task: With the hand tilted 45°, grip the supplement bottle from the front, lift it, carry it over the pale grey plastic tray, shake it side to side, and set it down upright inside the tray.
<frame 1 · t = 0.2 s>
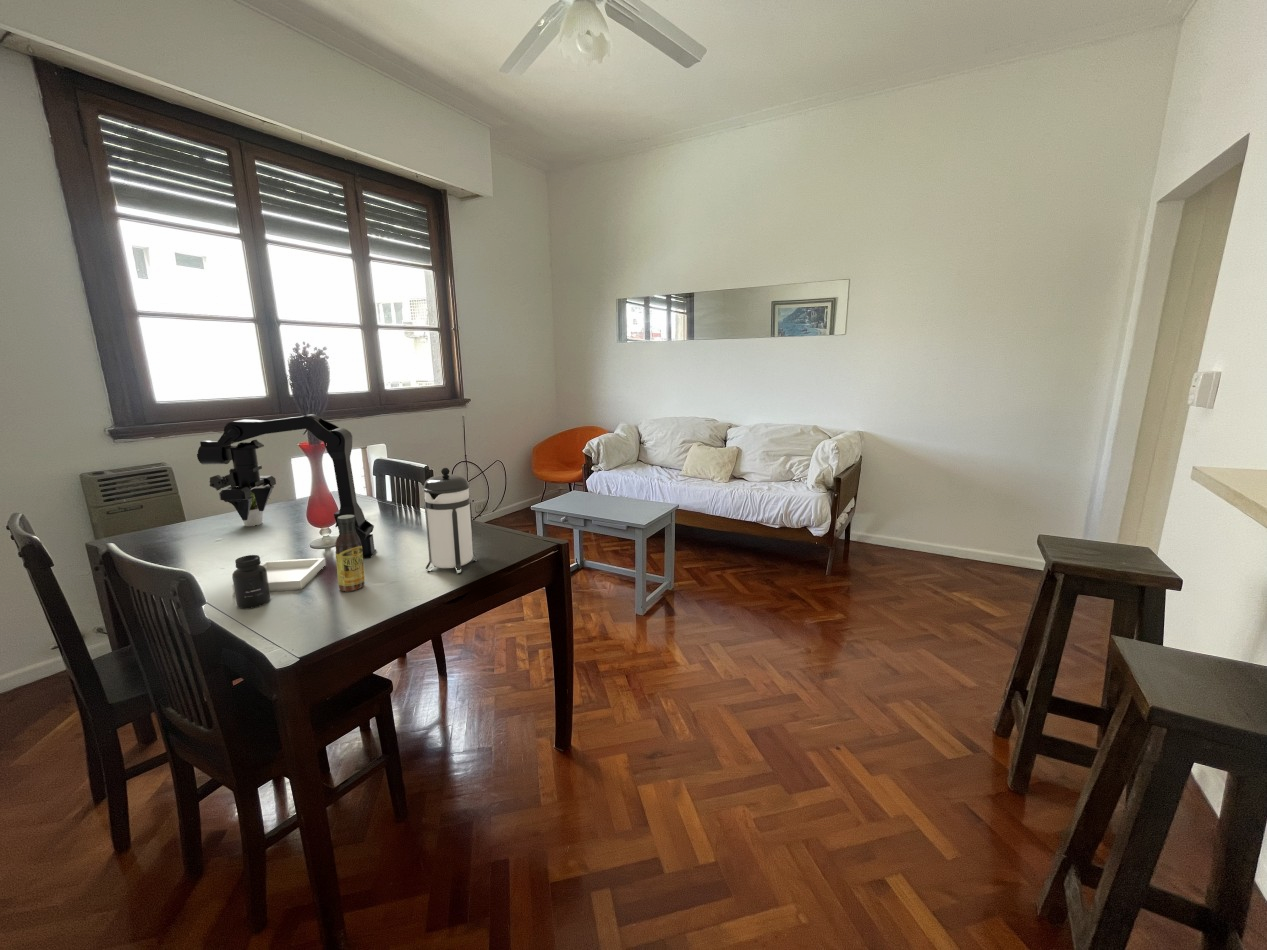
hand: (253, 515, 148), 15 cm above the table, tool pointing down, fingers open, 9 cm apart
tray: (282, 578, 139), on the table
supplement bottle: (254, 603, 126), on the table
house plant: (250, 525, 184), on the table
coffee press: (453, 564, 151), on the table
sauce bottle: (353, 588, 135), on the table
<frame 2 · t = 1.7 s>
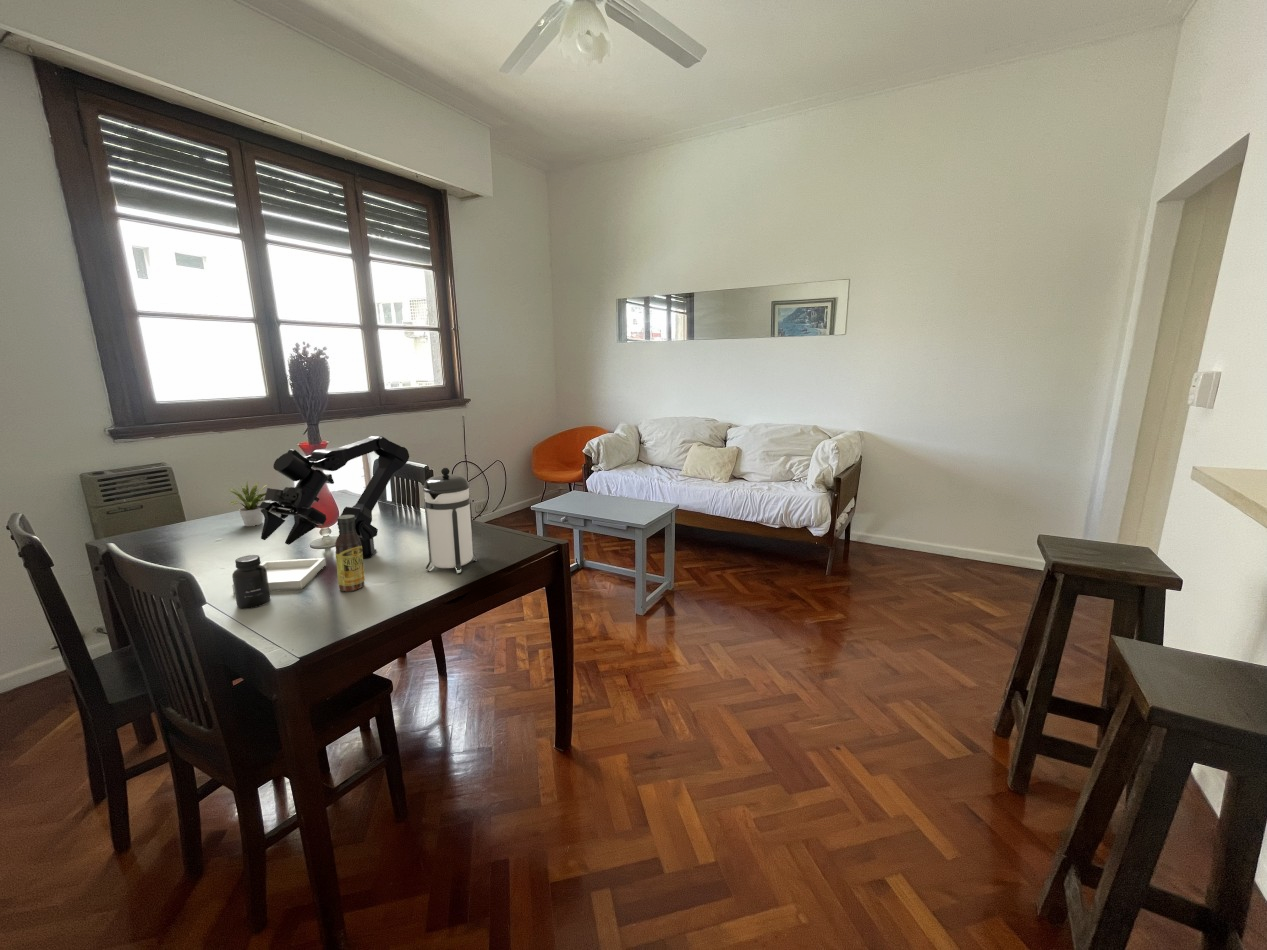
hand: (274, 541, 130), 13 cm above the table, tool tilted 45°, fingers open, 9 cm apart
nothing on the table moved.
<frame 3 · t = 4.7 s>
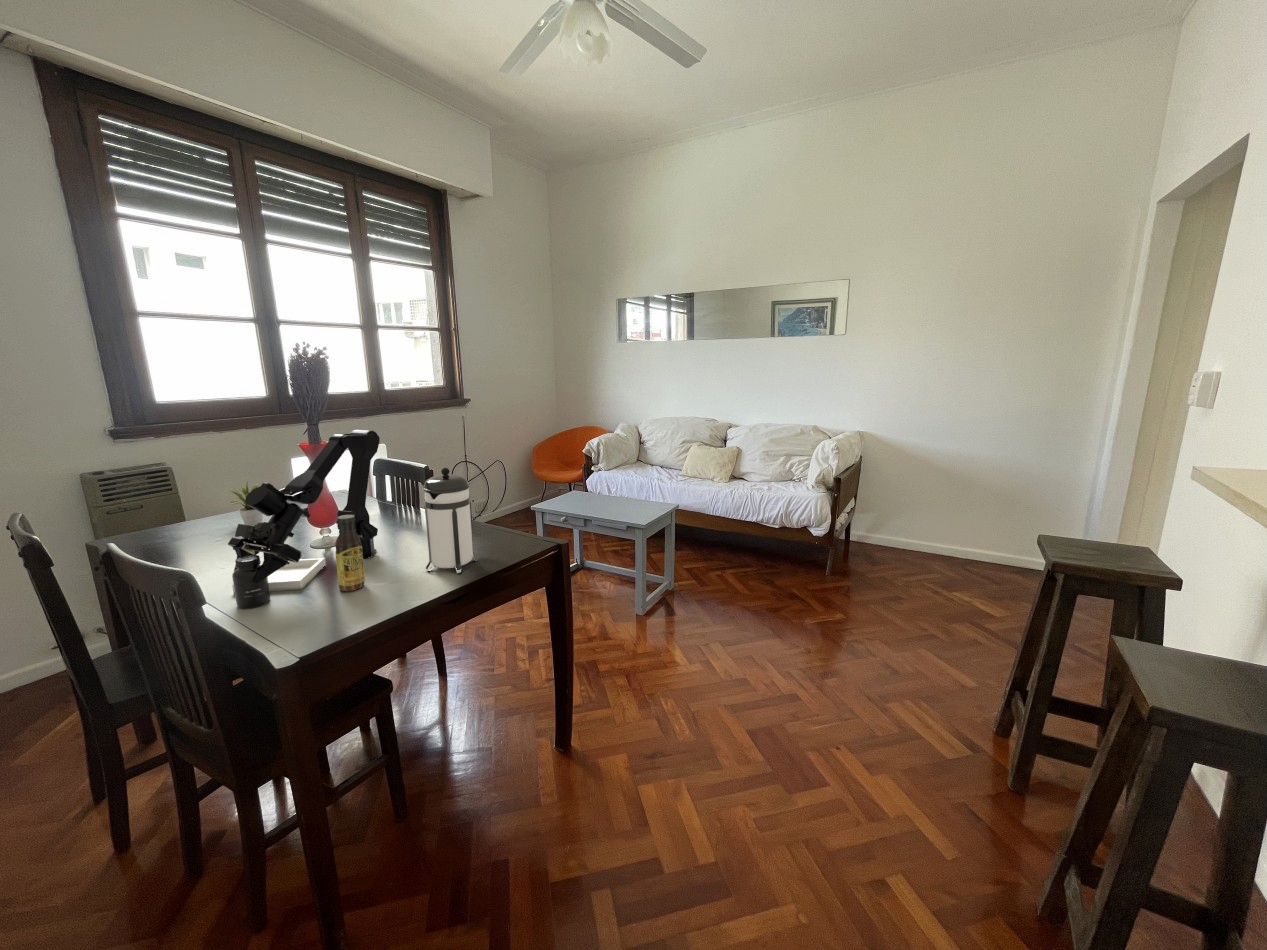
hand: (244, 580, 123), 7 cm above the table, tool tilted 45°, fingers closed on supplement bottle, 7 cm apart
supplement bottle: (254, 603, 126), on the table, touching gripper
everything else where it was.
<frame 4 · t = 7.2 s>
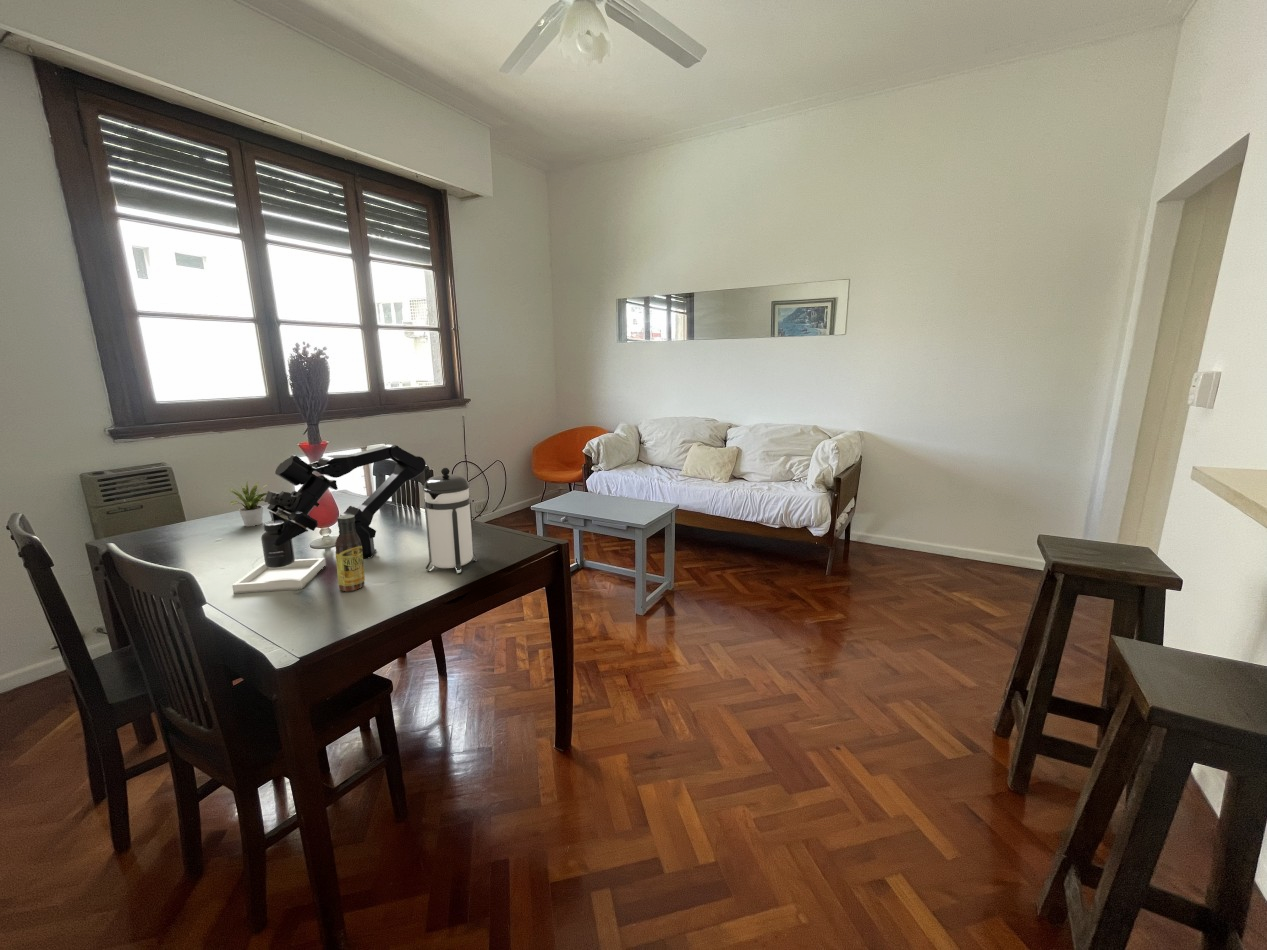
hand: (271, 542, 136), 11 cm above the table, tool tilted 45°, fingers closed on supplement bottle, 7 cm apart
supplement bottle: (281, 564, 139), point 4 cm above the table, touching gripper
everything else where it was.
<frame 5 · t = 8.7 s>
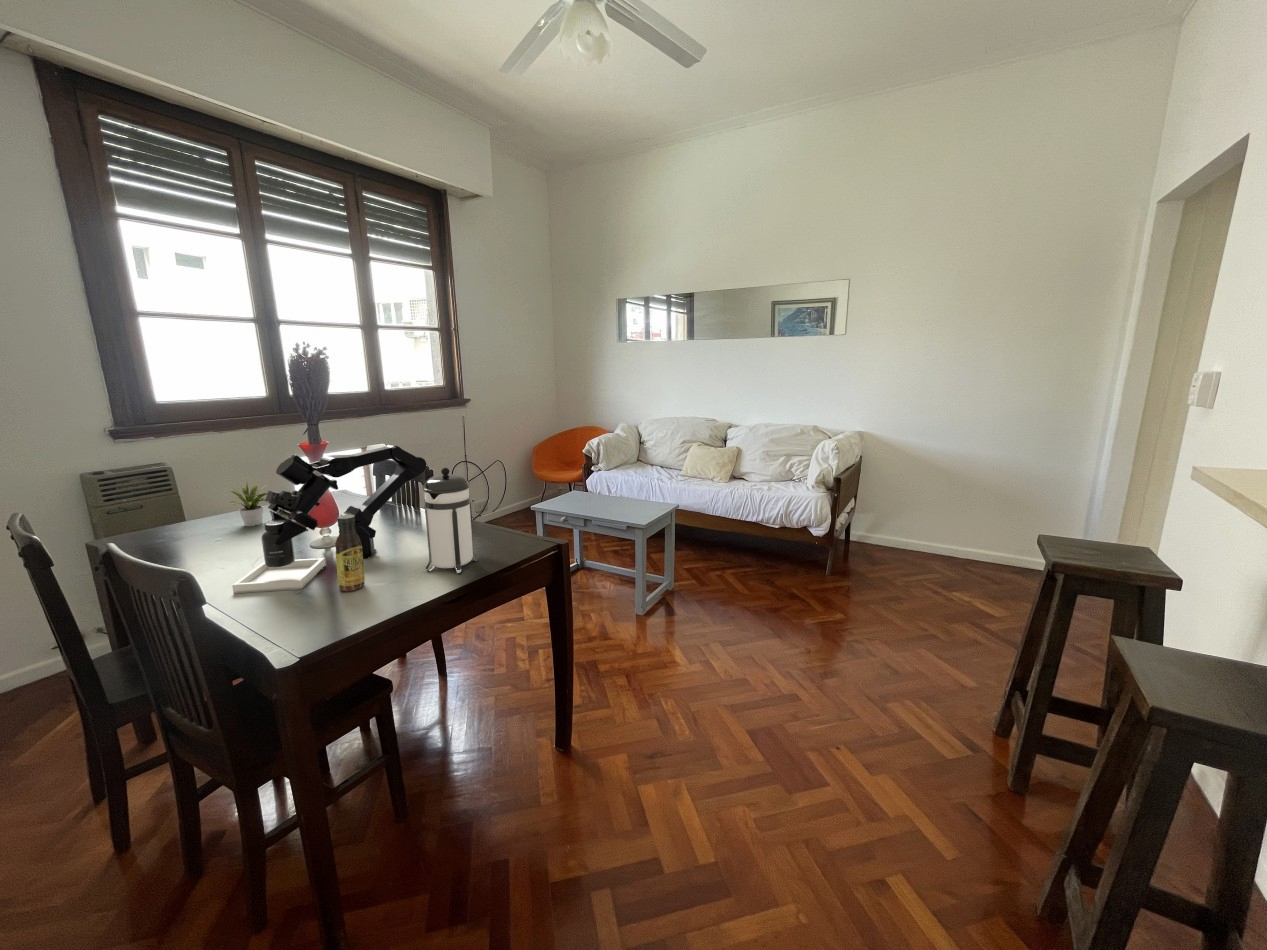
hand: (271, 541, 136), 11 cm above the table, tool tilted 45°, fingers closed on supplement bottle, 7 cm apart
supplement bottle: (280, 563, 139), point 4 cm above the table, touching gripper
everything else where it was.
when the fingers open (8 cm above the table, at t = 9.9 s): supplement bottle stays where it is, resting on tray.
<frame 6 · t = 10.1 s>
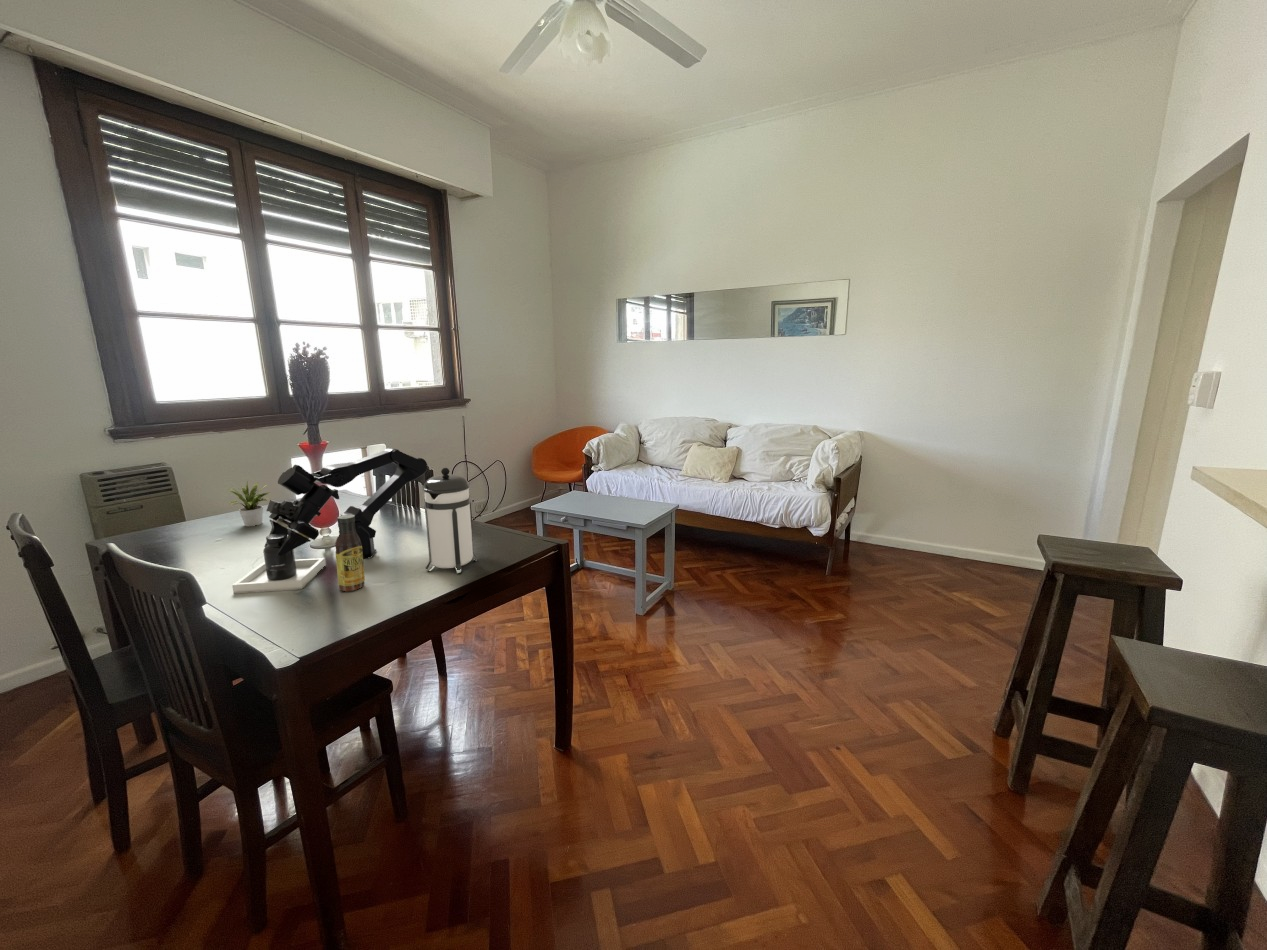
hand: (272, 551, 137), 9 cm above the table, tool tilted 45°, fingers open, 9 cm apart
supplement bottle: (282, 577, 140), resting on tray
everything else where it was.
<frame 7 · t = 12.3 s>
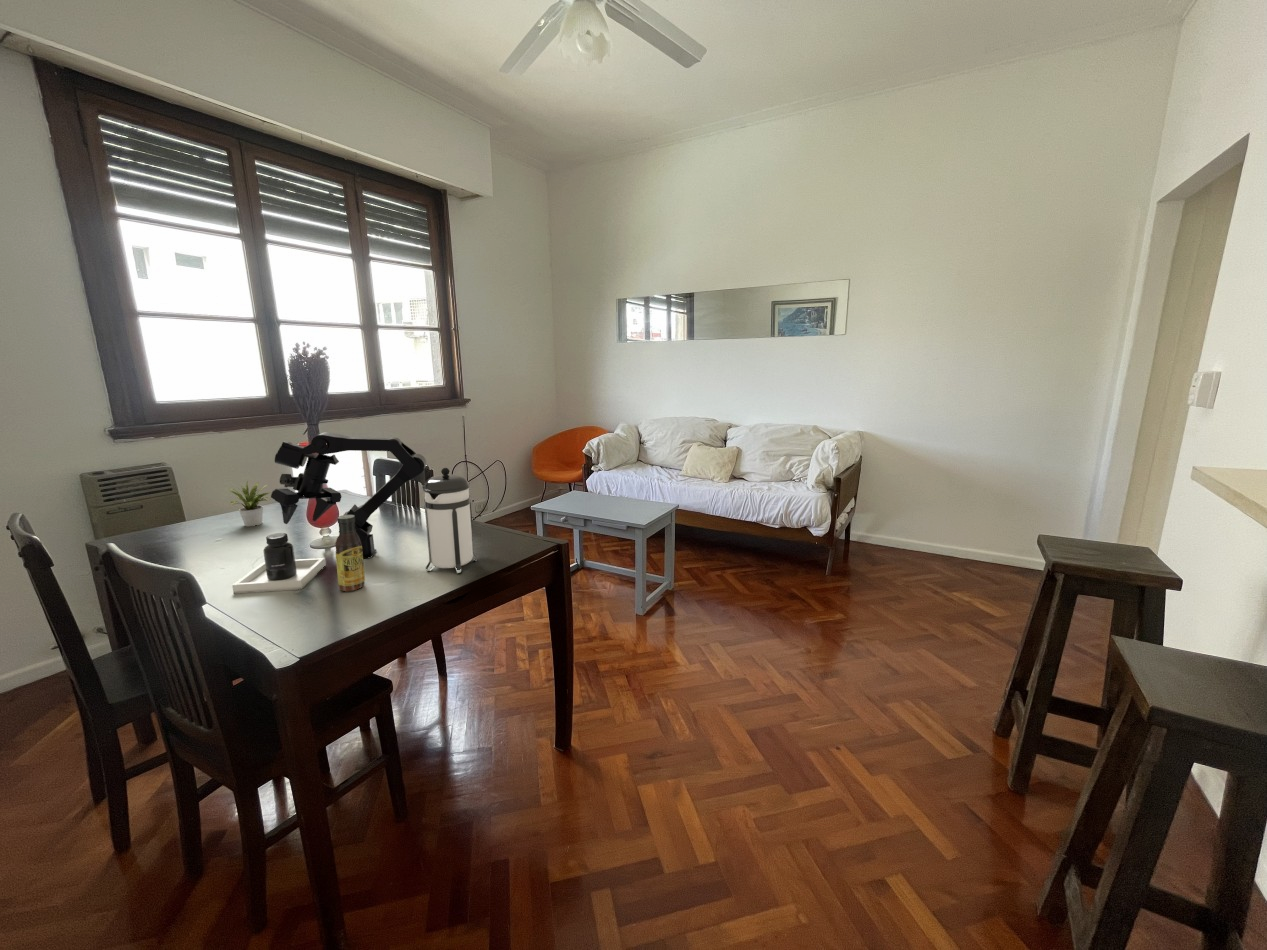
hand: (300, 522, 150), 12 cm above the table, tool tilted 20°, fingers open, 9 cm apart
nothing on the table moved.
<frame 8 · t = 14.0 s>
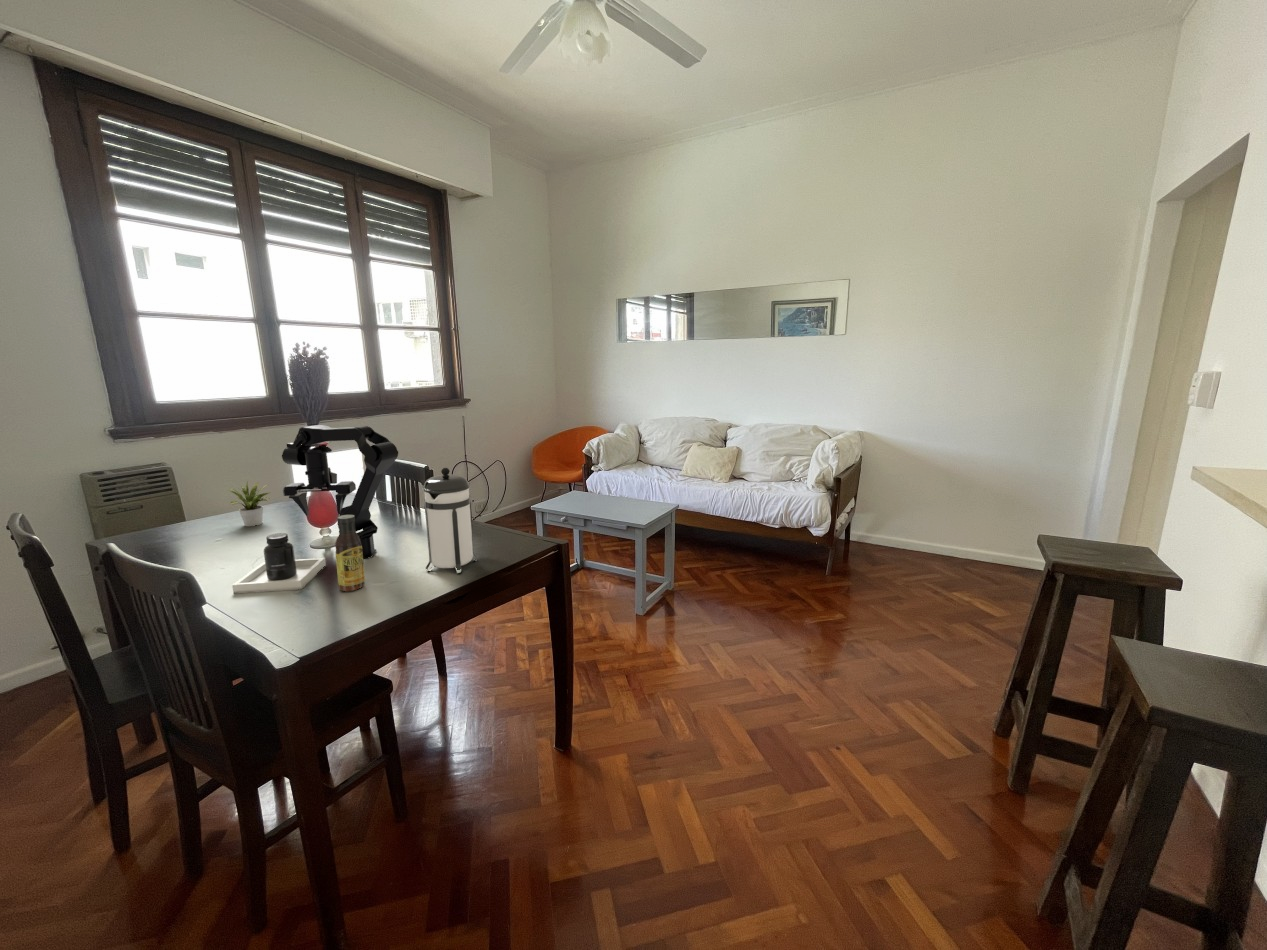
hand: (323, 514, 158), 12 cm above the table, tool pointing down, fingers open, 9 cm apart
nothing on the table moved.
at the end: supplement bottle inside the target area on the tray (0.3 cm from its centre), point 0.4 cm above the tray's base; supplement bottle tilted 0°; the gripper is holding nothing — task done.
